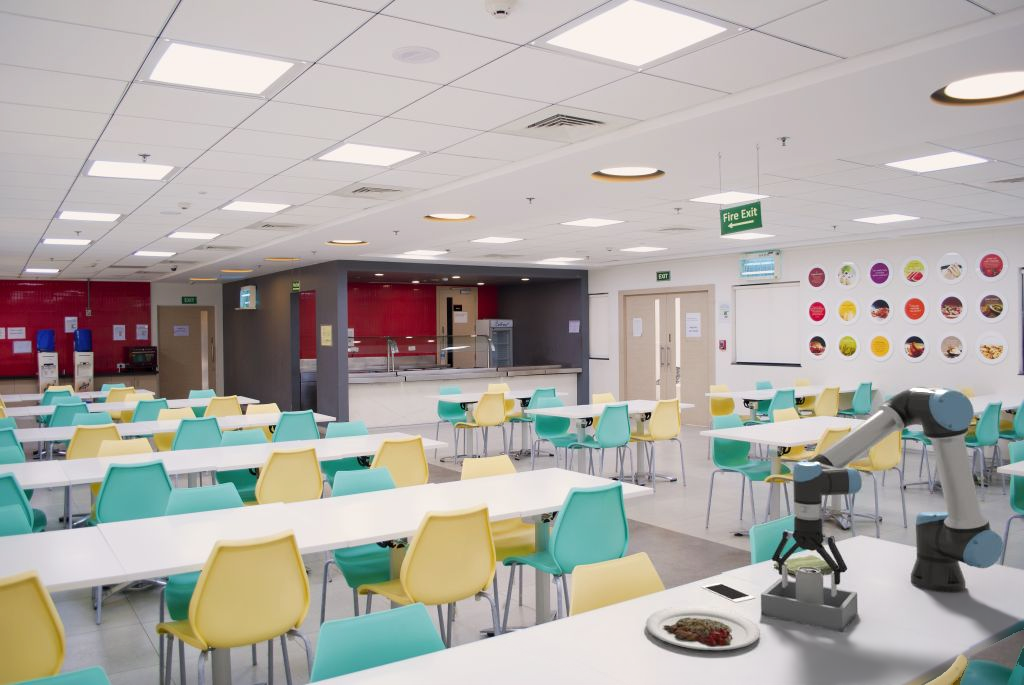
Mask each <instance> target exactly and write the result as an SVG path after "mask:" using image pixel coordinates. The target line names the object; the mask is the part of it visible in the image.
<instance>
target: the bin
mask: <svg viewBox="0 0 1024 685" xmlns="http://www.w3.org/2000/svg"><path fill="white" fill-rule="evenodd" d="M823 592H824V605H822V604H817V603H811V602H806V601H801V600H796V580H795V581H794V580H790V579H788V585H787V586H786V587H785V588H783V587H782V578H779V579H777V580H776V581H775V582H774V583H772V585H770V586H768V588H767V589H765V590H764V591H763V592H762V593H761V594H760V611H761V612H760V615H761V616H763V617H768V618H773V619H779V620H781V621H782V620H783V621H788V622H793V623H798V624H802V625H807V626H810V627H811V626H812V627H817V628H820V629H825V628H826V630H830V631H834V632H840V633H844V631H845V630H846V629H847V628H848V626H849V625H850V624H849V623H851V622H852V621H853V620H854V619H855V617H856V616H857V615H858V592H856V591H852V590H846V589H842V588H841V589H840V588H837V594H836V596H835V597H832V596H831V586H824V585H823ZM856 614H857V615H856ZM855 615H856V616H855ZM852 619H853V620H852ZM851 620H852V621H851ZM848 624H849V625H848Z"/></svg>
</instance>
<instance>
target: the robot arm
mask: <svg viewBox="0 0 1024 685" xmlns="http://www.w3.org/2000/svg"><path fill="white" fill-rule="evenodd" d="M974 411H975V410H974V406H973V404H972V402H971V400H970V399H969V397H967V395H965V394H964V393H962V392H961V391H959V390H953V389H951V388H939V387H937V388H936V387H925V386H915V387H910V388H907V389H905V390H903V391H900V392H899V393H897V394H895V395H893V396H892V397H890V398H889V399H888V400H886V401H884V402H883V403H882V404H880V405H879V406H878V409H877V412H876V413H873V414H872V415H871V416H870V417H868V418H866V419H865V420H864V421H863V422H861V423H860V424H859V425H857V426H856V427H854V428H853V429H852V430H849V432H847V433H846V434H845V435H843V436H842V437H840V438H839V439H837V440H836V441H835V442H833V443H832V444H831V445H830V446H828V447H827V448H825V449H824V450H823V451H821V452H820V453H818V454H816V456H814V457H813V458H811V459H809V458H807V459H806V458H805V459H800V460H799V461H798V462H796V463H794V465H793V474H792V480H793V515H794V517H793V522H794V523H793V526H794V527H793V529H794V530H793V531H791V530H789V529H786V530H784V531H783V532H782V538H781V540H780V542H779V544H778V546H777V548H776V550H775V551H774V553H773V555H772V557H771V560H772V561H773V562H775V563H776V562H777V563H778V564H779V568H778V574H779V575H780V576H781V579H782V587H783V588H785V587H786V586H787V585H788V580H789V578H788V577H789V576H788V574H789V572H788V570H787V563H784V562H785V561H786V560H788V559H790V557H791V556H792V555H793V554H794V553H795V552H796V551H797V550H798V548H800V549H801V550H804V551H805V550H809V551H811V552H813V551H816V552H817V554H819V556H820V557H821V559H823V561H826V563H827V564H828V565H829V566H830V568H831V569H832V570H833V572H831V573H830V580H831V581H830V588H831V596H832V597H835V596H836V594H837V589H838V588H837V586H839V585H840V584H841V573H845V572H847V570H848V567H847V565H846V562H845V560H844V559H843V556H842V555H841V552H840V550H839V549H838V547H837V545H836V540H835V536H834V535H830V536H825V535H823V519H822V516H823V503H822V502H823V496H838V495H839V496H841V495H847V496H848V495H853V494H857V493H859V492H860V491H861V489H862V486H863V484H862V483H863V482H862V481H863V479H862V475H861V474H860V472H859V471H858V470H857V469H856V468H854V467H848V466H849V465H850V464H851V463H852V462H854V461H855V460H857V459H858V458H860V457H861V456H862V455H864V454H865V453H867V452H868V451H870V450H871V449H872V448H873V447H875V446H876V445H877V444H879V443H880V442H882V441H883V440H885V439H886V438H887V437H888V436H890V435H892V434H893V433H894V432H901V431H903V430H904V429H906V428H907V427H910V426H913V425H914V426H915V425H918V426H921V427H922V430H923V431H922V432H923V435H924V437H925V438H926V439H928V440H930V442H931V446H932V449H933V454H934V458H935V462H936V467H937V472H938V475H939V480H940V485H941V489H942V494H943V499H944V502H945V503H944V504H945V507H946V511H923V512H919V513H918V514H917V515H916V520H915V521H916V522H915V538H916V542H915V546H916V559H915V562H914V565H913V568H912V570H911V573H910V583H911V584H912V585H913V586H916V587H918V588H921V589H924V590H926V591H927V590H929V591H932V592H937V593H938V592H941V593H959V592H963V591H964V590H966V580H965V579H966V578H965V577H964V574H963V571H962V569H961V565H960V563H959V562H961V563H964V564H966V565H967V566H969V567H974V568H976V569H977V568H978V569H987V568H990V567H992V566H994V565H995V564H996V563H997V562H998V561H999V559H1000V557H1001V556H1002V554H1003V551H1004V541H1003V539H1002V537H1001V536H1000V534H999V533H997V532H996V531H995V530H992V529H991V525H990V521H989V519H988V516H986V515H985V514H982V512H981V507H980V504H979V499H978V495H977V489H976V485H975V481H974V477H973V471H972V468H971V463H970V458H969V454H968V449H967V445H966V441H965V440H966V439H965V436H966V435H967V434H968V433H969V427H970V425H971V424H972V423H973V421H972V419H974V417H975V416H974V415H975V412H974ZM791 538H793V540H794V541H795V543H794V544H793V545H792V546H791V547H790V548H789V549H788V551H786V553H785V554H783V555H782V552H783V551H784V549H785V547H786V544H788V541H789V540H790V539H791ZM823 542H825V544H826V545H827V546H828V548H829V550H830V552H831V554H832V556H833V558H834V559H833V558H832V556H831V555H830V554H829V553H828V552H827V550H826V548H825V546H824V545H823ZM781 555H782V556H781ZM780 556H781V557H780Z"/></svg>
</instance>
